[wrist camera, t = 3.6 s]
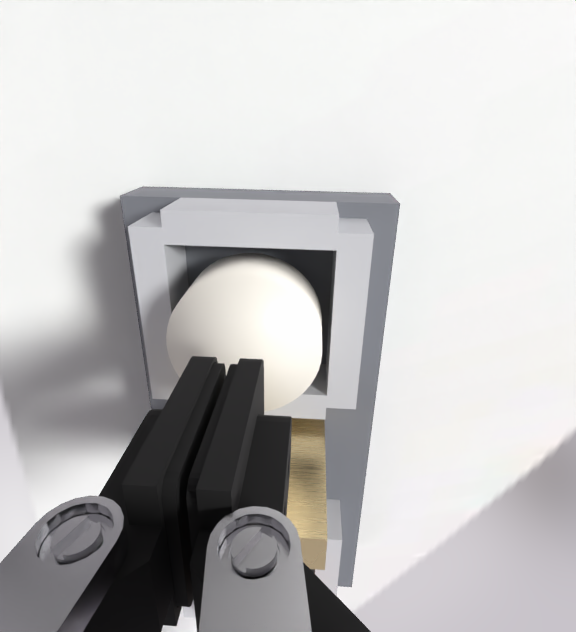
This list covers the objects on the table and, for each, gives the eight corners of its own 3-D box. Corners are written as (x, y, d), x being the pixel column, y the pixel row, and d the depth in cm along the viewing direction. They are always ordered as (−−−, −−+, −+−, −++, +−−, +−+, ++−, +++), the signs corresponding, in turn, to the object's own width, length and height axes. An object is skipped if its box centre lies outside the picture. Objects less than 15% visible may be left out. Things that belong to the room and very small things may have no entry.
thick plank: (195, 392, 17) (136, 526, 11) (324, 399, 16) (327, 539, 11) (197, 417, 17) (142, 557, 12) (322, 424, 17) (324, 570, 11)
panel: (142, 186, 16) (90, 207, 12) (390, 193, 15) (412, 217, 12) (187, 545, 24) (164, 621, 20) (348, 556, 24) (353, 636, 20)
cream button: (179, 250, 13) (157, 271, 11) (325, 255, 13) (326, 278, 11) (191, 373, 15) (173, 408, 13) (318, 379, 15) (318, 416, 13)
